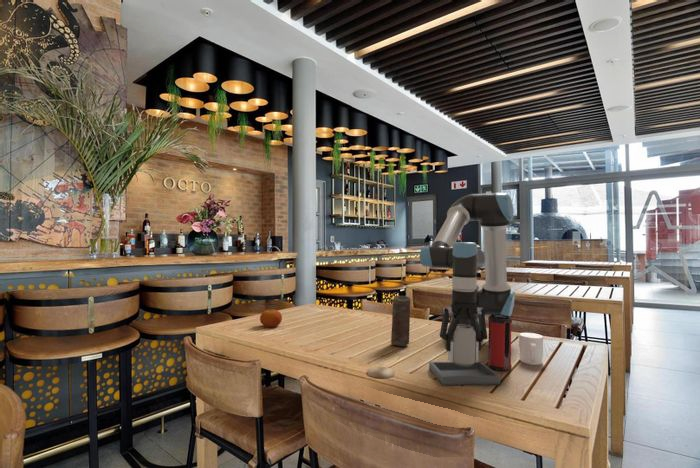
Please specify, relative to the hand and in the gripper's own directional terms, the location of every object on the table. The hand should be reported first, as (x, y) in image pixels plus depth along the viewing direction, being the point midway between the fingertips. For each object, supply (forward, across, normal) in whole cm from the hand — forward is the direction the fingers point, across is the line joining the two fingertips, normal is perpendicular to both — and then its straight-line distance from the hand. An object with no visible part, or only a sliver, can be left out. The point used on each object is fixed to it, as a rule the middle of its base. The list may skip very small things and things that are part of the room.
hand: (463, 360), depth 121 cm
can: (+1, 0, 0) cm, 1 cm away
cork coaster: (+5, +26, -4) cm, 27 cm away
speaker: (+5, -16, -8) cm, 19 cm away
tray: (+5, 0, 0) cm, 5 cm away
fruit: (+5, +70, -68) cm, 98 cm away
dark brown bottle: (+5, +13, -35) cm, 38 cm away
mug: (+5, -31, -14) cm, 35 cm away
